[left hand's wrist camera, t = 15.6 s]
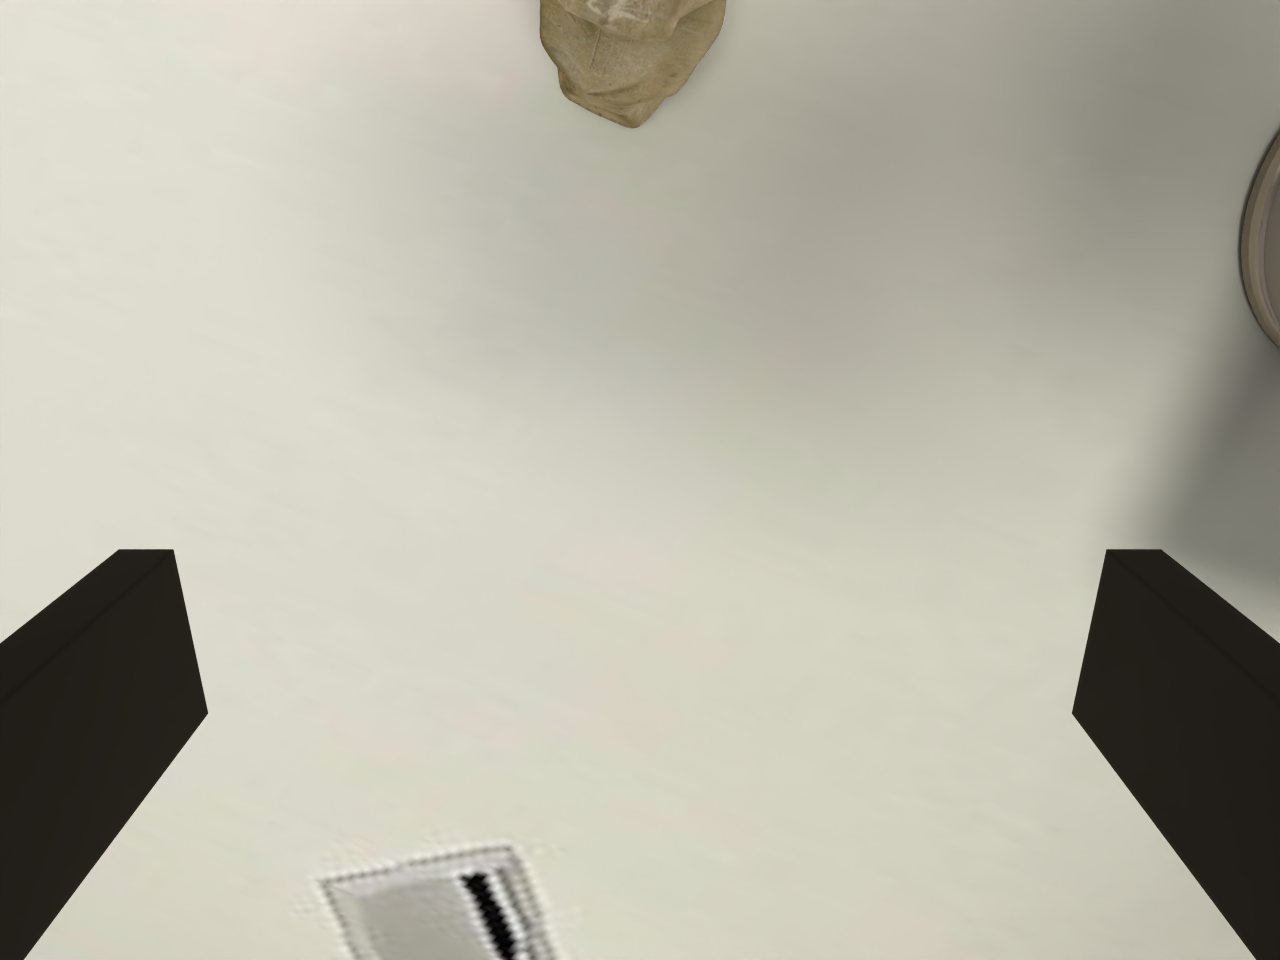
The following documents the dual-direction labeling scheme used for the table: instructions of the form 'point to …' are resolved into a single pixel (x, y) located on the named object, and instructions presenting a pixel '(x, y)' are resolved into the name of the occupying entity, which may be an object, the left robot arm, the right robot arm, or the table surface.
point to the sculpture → (627, 50)
